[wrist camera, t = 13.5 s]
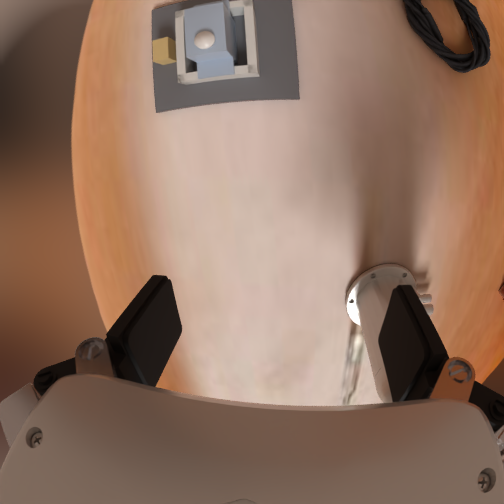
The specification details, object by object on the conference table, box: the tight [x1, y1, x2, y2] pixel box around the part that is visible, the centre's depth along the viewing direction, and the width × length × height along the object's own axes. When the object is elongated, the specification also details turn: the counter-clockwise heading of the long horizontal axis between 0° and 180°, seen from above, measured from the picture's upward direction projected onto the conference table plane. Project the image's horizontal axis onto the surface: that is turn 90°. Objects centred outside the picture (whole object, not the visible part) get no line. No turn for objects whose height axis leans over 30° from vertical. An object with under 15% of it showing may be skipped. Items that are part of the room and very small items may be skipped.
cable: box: [403, 0, 490, 73], centre depth 17 cm, size 17×14×4 cm
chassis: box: [152, 0, 300, 113], centre depth 24 cm, size 18×16×4 cm
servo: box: [184, 0, 238, 79], centre depth 22 cm, size 4×10×7 cm, turn 4°
